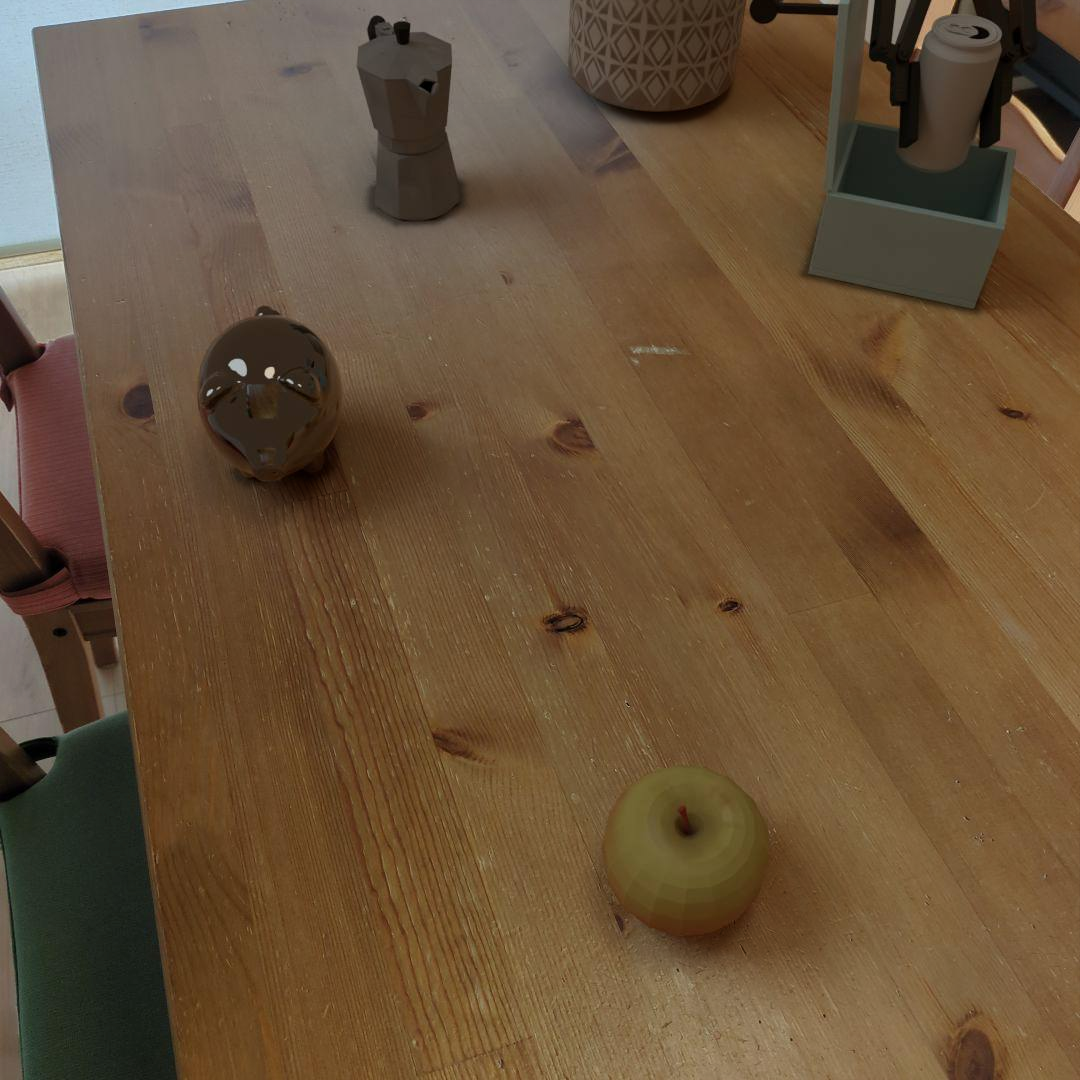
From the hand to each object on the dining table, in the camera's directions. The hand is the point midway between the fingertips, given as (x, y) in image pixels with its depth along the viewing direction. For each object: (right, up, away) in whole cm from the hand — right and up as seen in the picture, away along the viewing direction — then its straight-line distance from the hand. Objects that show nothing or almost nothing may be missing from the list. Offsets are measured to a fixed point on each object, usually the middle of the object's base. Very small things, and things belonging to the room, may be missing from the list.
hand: (948, 143), depth 97 cm
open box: (0, -6, +13) cm, 14 cm away
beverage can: (0, 0, +5) cm, 5 cm away
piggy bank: (-57, -27, -5) cm, 63 cm away
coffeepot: (-49, +2, +19) cm, 52 cm away
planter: (-23, +19, +33) cm, 45 cm away
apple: (-27, -55, -28) cm, 67 cm away
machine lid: (-8, +7, +1) cm, 11 cm away
